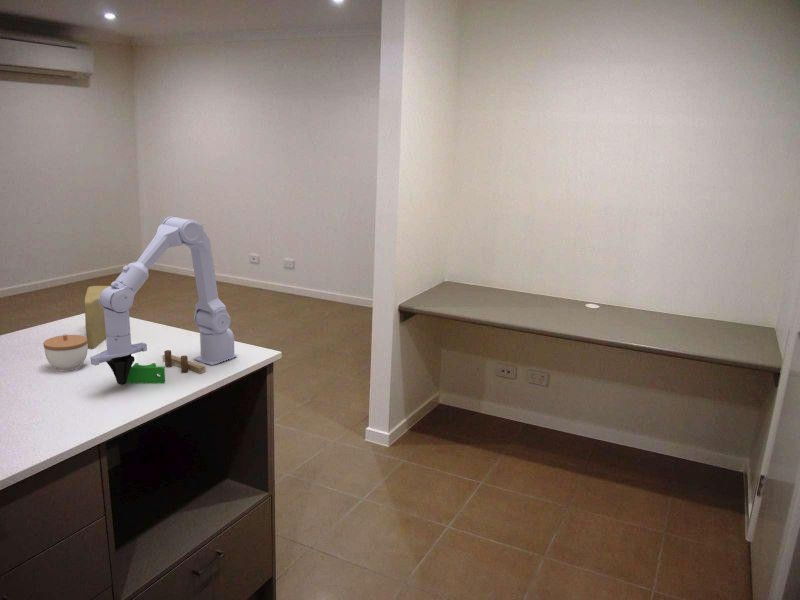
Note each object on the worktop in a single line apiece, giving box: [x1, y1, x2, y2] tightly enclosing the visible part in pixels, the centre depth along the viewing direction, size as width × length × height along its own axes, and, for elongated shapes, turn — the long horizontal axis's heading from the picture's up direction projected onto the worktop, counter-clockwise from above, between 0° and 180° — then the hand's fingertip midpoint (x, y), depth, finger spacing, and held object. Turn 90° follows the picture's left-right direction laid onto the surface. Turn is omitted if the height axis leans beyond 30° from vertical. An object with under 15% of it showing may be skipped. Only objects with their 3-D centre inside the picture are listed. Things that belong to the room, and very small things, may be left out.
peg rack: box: [161, 349, 206, 375], centre depth 172 cm, size 4×16×4 cm, turn 58°
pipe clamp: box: [126, 362, 166, 384], centre depth 162 cm, size 11×4×5 cm, turn 96°
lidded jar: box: [42, 333, 89, 371], centre depth 168 cm, size 11×11×9 cm
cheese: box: [83, 285, 111, 349], centre depth 192 cm, size 22×10×15 cm, turn 14°
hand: (121, 383), depth 157 cm, fingers closed
